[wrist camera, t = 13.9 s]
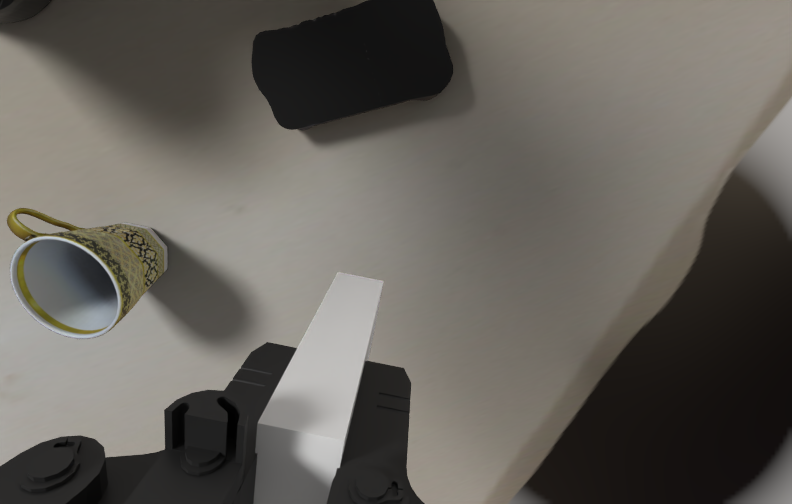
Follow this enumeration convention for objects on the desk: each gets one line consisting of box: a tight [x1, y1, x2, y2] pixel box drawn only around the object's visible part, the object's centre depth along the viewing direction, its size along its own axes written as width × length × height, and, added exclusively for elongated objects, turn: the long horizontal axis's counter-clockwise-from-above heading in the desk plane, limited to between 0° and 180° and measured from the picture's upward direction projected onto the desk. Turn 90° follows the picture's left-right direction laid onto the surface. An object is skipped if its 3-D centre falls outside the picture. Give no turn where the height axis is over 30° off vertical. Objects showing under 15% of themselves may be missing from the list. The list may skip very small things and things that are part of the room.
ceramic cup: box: [7, 208, 168, 339], centre depth 40 cm, size 13×10×10 cm
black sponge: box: [252, 0, 453, 130], centre depth 36 cm, size 16×8×4 cm, turn 104°
